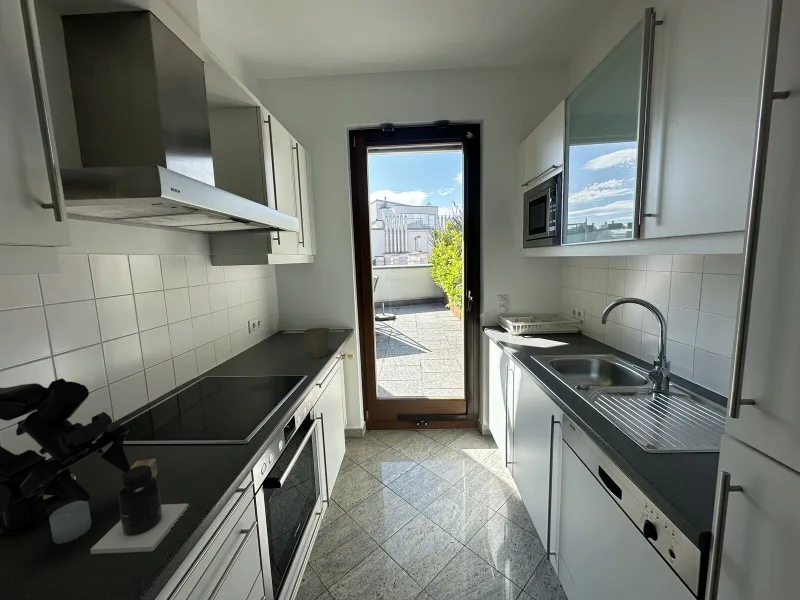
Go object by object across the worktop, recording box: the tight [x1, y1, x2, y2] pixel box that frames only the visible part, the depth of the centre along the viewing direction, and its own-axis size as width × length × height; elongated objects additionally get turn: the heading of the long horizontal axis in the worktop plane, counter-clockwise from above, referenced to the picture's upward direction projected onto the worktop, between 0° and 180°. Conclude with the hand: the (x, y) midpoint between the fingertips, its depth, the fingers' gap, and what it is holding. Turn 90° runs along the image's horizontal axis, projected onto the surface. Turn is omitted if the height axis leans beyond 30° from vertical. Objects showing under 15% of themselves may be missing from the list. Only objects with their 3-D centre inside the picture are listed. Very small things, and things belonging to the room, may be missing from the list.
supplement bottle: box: [117, 465, 162, 535], centre depth 73 cm, size 7×7×12 cm
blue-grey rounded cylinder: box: [48, 500, 92, 545], centre depth 73 cm, size 6×6×5 cm
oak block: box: [130, 458, 158, 478], centre depth 90 cm, size 4×4×4 cm
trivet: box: [90, 503, 190, 555], centre depth 74 cm, size 12×12×1 cm
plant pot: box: [303, 327, 331, 359], centre depth 200 cm, size 15×15×16 cm
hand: (109, 484), depth 73 cm, fingers open, 9 cm apart
